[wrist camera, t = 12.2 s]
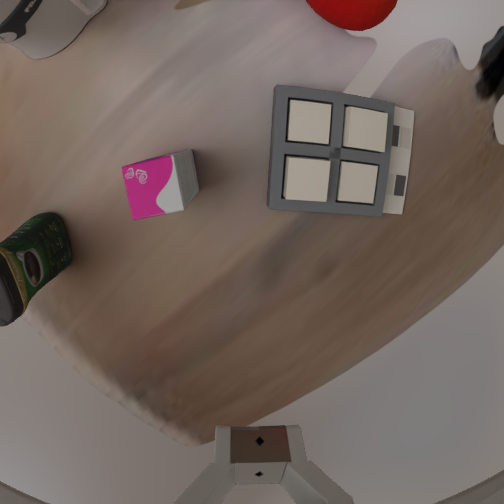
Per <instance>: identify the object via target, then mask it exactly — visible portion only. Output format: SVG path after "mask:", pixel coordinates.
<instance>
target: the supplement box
mask: <svg viewBox="0 0 504 504" xmlns="http://www.w3.org/2000/svg"><path fill="white" fill-rule="evenodd" d="M122 173H123V178H124V182H125V186H126V191H127V196H128V200H129V205H130V209H131V214H132V218H133V220H137V219H142V218H148V217H153V216H158V215H163V214H168V213H174V212H179V211H184V210H185V209H186V208H187V206H188V205H189V203H190V202H191V201H192V200H193V198H194V197H195V196H196V194H197V193H198V192H199V191H200V190H199V184H198V178H197V172H196V167H195V161H194V155H193V150H186V151H181V152H176V153H172V154H167V155H163V156H159V157H155V158H150V159H147V160H143V161H140V162H136V163H133V164H130V165H127V166H123V167H122Z"/></svg>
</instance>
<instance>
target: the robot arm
mask: <svg viewBox="0 0 504 504" xmlns="http://www.w3.org/2000/svg"><path fill="white" fill-rule="evenodd" d="M106 3H107V0H0V43H9V44H11V45H13V46H15V47H17V48H18V49H19V50H21V51H22V52H23V53H24V54H25V55H26V56H28V57H30V58H34V59H41V58H46V57H49V56H52V55H54V54H56V53H57V52H59V51H61V50H62V49H63V48H65V47H66V46H67V45H68V44H70V43H71V42H72V41H73V40H74V39H75V38H76V36H77V35H78V34H79V33H80V31H81V30H82V29H83V27H84V26H85V25H86V23H87V22H88V21H89V20H90V19H91V18H92V17H93V16H95V15H96V14H97V13H99V12H100V11H101V10H102V9H103V8H104V7H105V6H106ZM236 484H280V485H281V486H282V487H283V488H284V490H285V491H286V492H287V493H288V494H289V496H290V497H291V498H292V499H293V500H294V501H295V502H296V504H354V503H353V499H352V497H351V496H350V495H349V494H348V493H346V492H345V491H344V490H343V489H342V488H341V487H340V486H338V485H337V484H336V483H335V482H334V481H333V480H332V479H331V478H329V477H328V476H327V475H326V474H325V473H324V472H323V471H322V470H321V469H320V468H318V467H317V466H316V465H315V464H314V463H313V462H312V461H307V458H306V452H305V448H304V442H303V437H302V432H301V427H300V426H299V425H291V426H285V425H282V426H259V427H241V426H231V429H230V426H216V433H215V456H214V463H209V465H208V466H207V467H206V468H205V469H204V470H203V471H202V472H201V474H200V475H199V476H198V477H197V478H196V479H195V480H194V482H193V483H192V484H191V485H190V486H189V487H188V488H187V489H186V490H185V491H184V492H183V493H182V494H181V495H180V497H179V498H178V499H177V500H176V501H175V502H174V503H173V504H222V502H223V501H224V500H225V498H226V497H227V495H228V494H229V493H230V491H231V490H232V488H233V487H234V485H236ZM0 504H49V503H46V502H43V501H41V500H39V499H36V498H34V497H32V496H30V495H27V494H25V493H23V492H21V491H19V490H16V489H15V488H13V487H10V486H8V485H6V484H4V483H3V482H1V481H0ZM434 504H504V470H503V471H501V472H499V473H497V474H496V475H494V476H492V477H490V478H488V479H487V480H485V481H483V482H481V483H479V484H477V485H475V486H473V487H471V488H469V489H467V490H464V491H462V492H460V493H458V494H456V495H453V496H451V497H449V498H446V499H444V500H442V501H439V502H437V503H434Z"/></svg>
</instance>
